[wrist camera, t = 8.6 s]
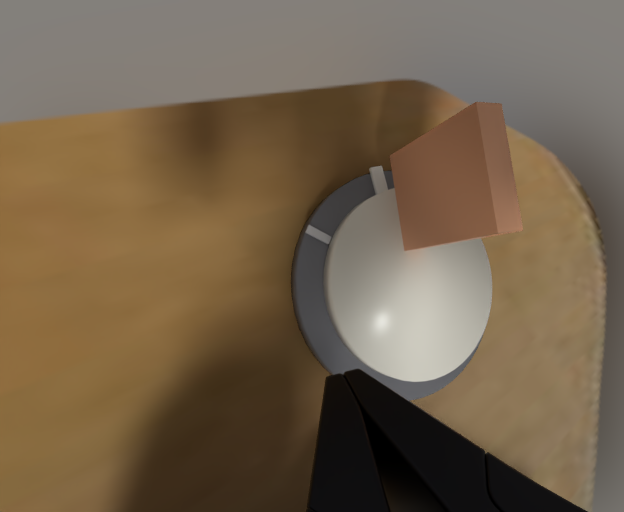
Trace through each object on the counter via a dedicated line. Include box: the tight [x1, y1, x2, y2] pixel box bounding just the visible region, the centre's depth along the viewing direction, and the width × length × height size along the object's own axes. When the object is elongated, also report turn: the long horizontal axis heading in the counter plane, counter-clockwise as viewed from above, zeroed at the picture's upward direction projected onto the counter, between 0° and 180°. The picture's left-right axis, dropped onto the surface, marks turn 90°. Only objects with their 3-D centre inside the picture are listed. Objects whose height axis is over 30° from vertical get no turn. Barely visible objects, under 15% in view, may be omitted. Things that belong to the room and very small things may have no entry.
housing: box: [291, 166, 484, 401], centre depth 24 cm, size 15×15×1 cm
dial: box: [323, 102, 523, 382], centre depth 20 cm, size 14×12×8 cm
